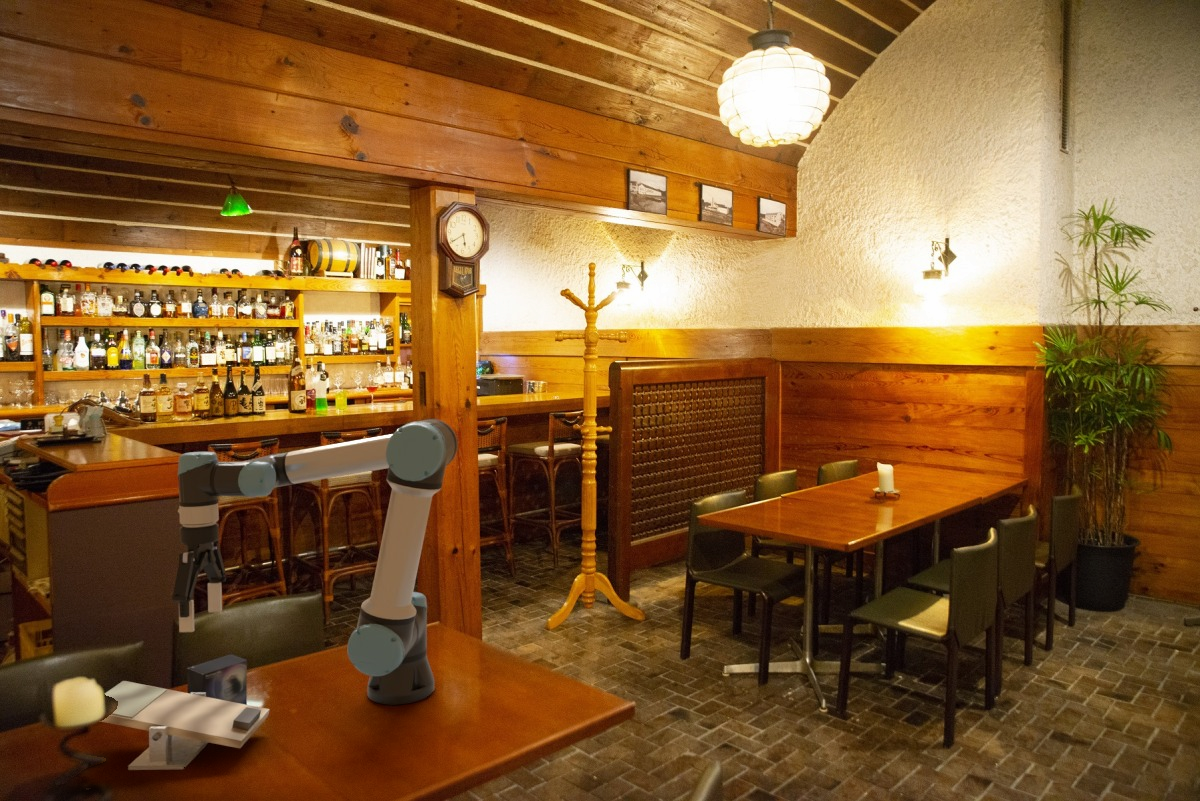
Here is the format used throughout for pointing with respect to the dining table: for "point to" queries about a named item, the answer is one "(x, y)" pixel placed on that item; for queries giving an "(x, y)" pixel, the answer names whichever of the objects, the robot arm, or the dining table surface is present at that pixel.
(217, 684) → the small box
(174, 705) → the balance beam
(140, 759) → the pivot stand
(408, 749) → the dining table surface
